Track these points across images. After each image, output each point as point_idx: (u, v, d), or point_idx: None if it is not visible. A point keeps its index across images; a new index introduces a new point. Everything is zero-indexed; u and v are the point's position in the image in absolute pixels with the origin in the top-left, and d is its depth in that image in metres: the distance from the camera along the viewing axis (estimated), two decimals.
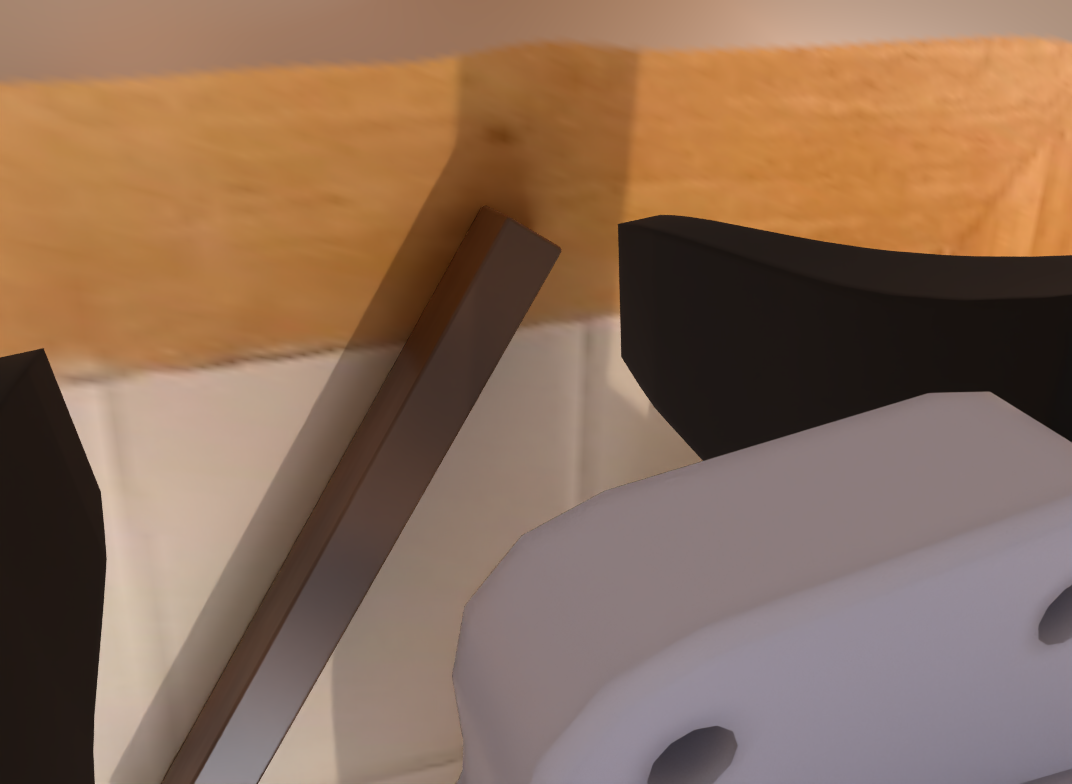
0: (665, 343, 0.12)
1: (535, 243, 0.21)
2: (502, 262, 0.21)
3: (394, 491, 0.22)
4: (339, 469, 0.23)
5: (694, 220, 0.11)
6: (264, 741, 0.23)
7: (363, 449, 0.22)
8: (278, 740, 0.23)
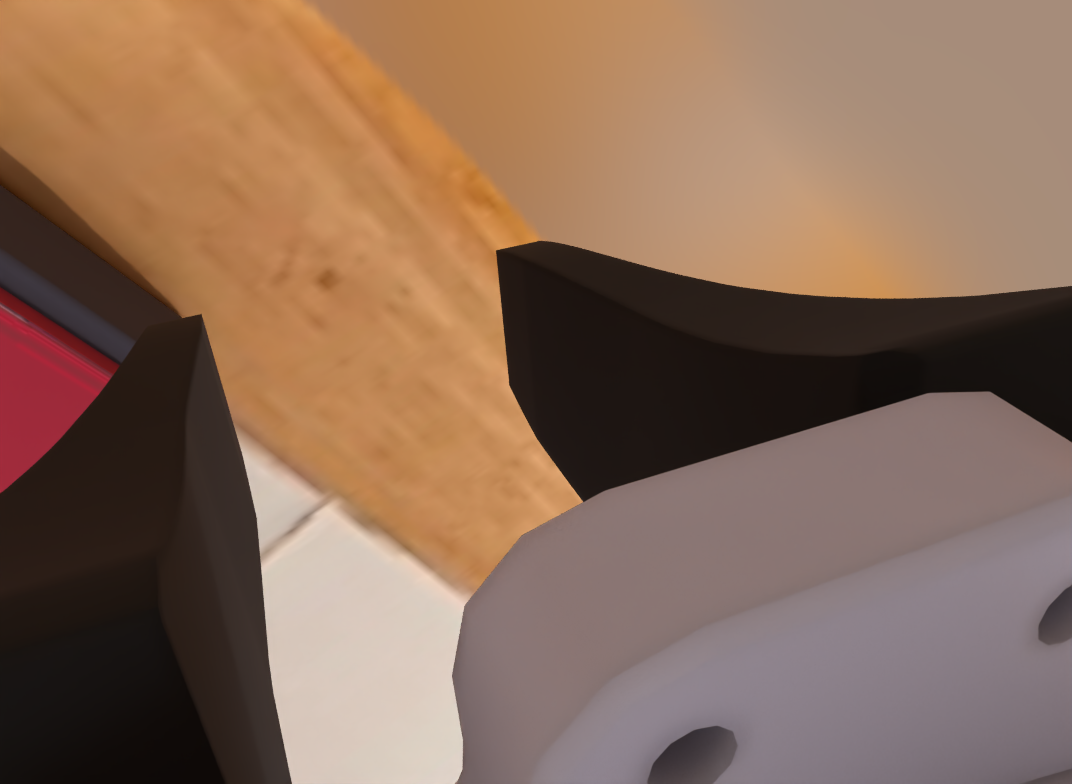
0: (541, 375, 0.11)
1: None
2: None
3: None
4: None
5: (567, 248, 0.11)
6: None
7: None
8: None
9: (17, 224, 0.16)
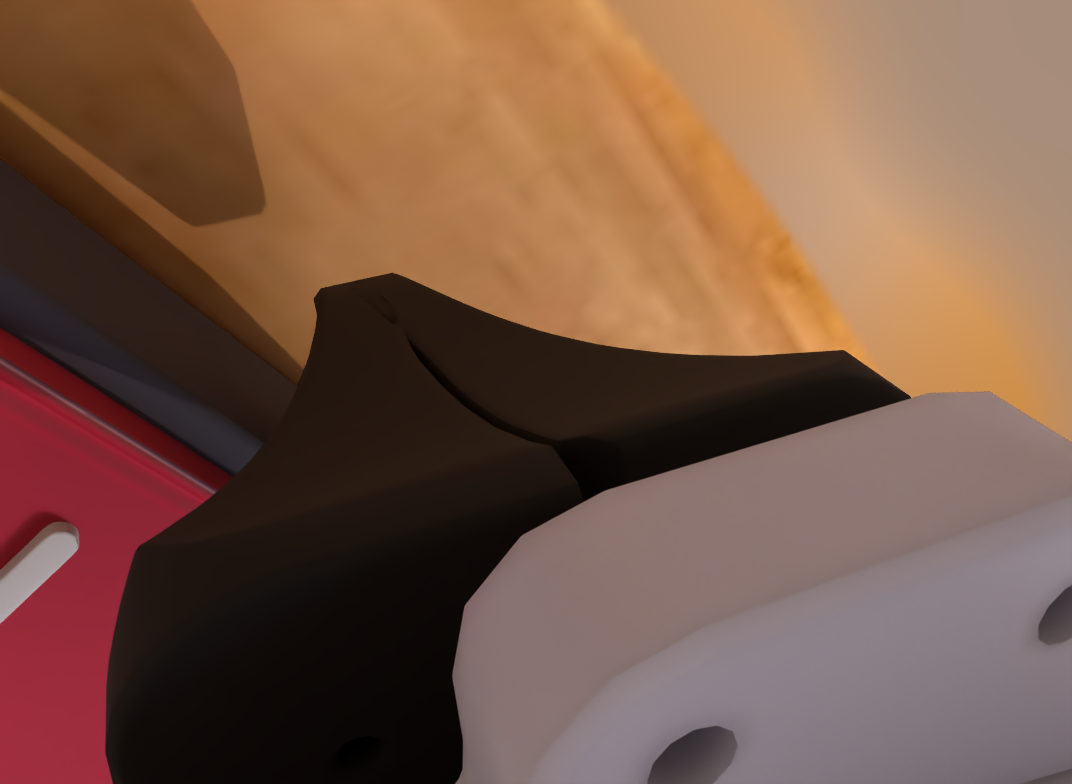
0: None
1: None
2: None
3: None
4: None
5: (407, 283, 0.10)
6: None
7: None
8: None
9: (207, 354, 0.11)
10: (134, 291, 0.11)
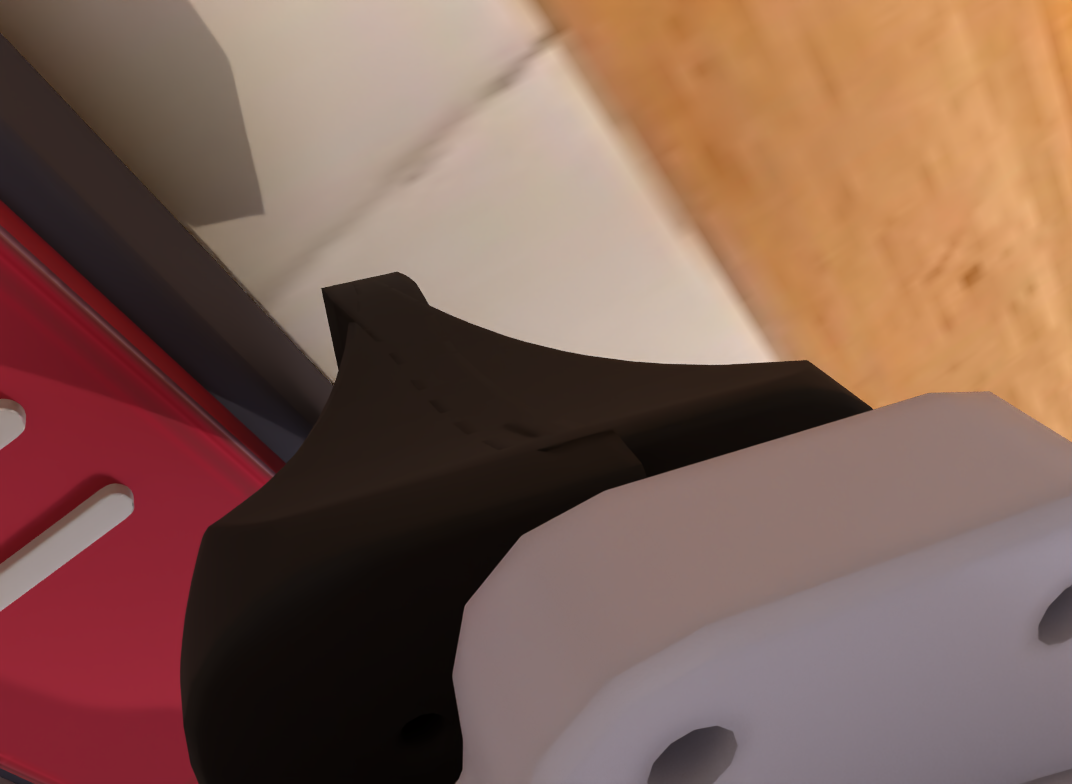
0: None
1: None
2: None
3: None
4: None
5: (384, 289, 0.10)
6: None
7: None
8: None
9: (262, 338, 0.11)
10: (201, 268, 0.11)
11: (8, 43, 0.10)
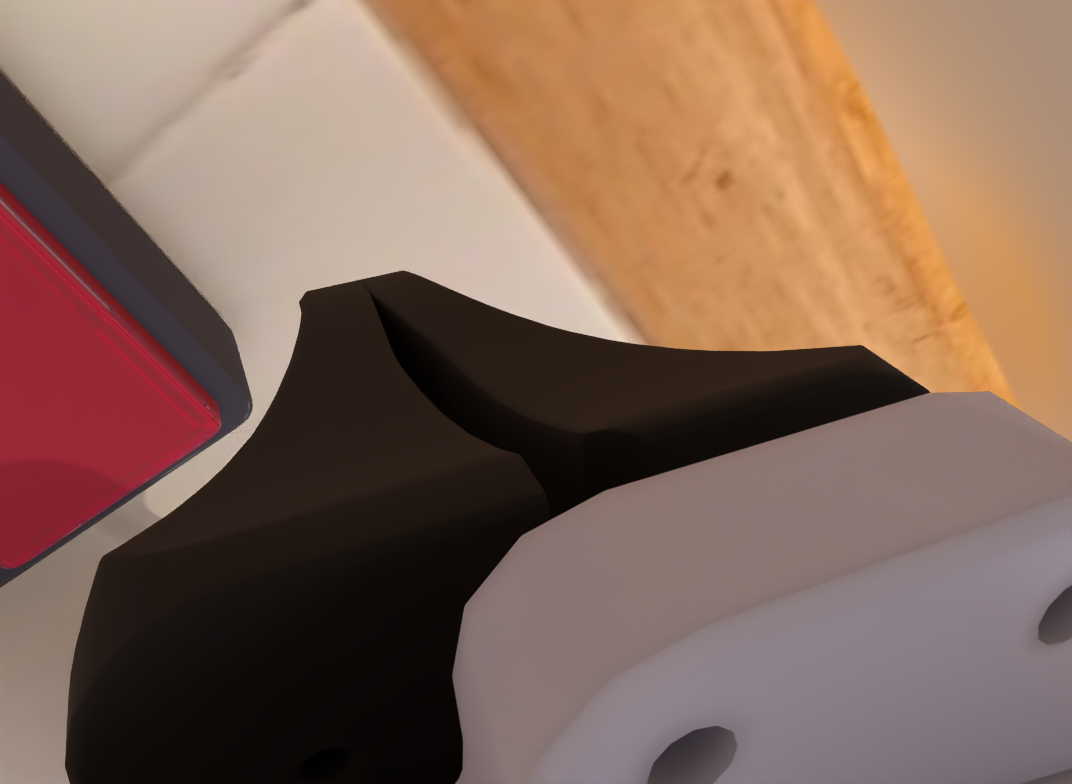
0: None
1: None
2: None
3: None
4: None
5: (419, 281, 0.10)
6: None
7: None
8: None
9: (105, 213, 0.16)
10: (60, 158, 0.16)
11: None
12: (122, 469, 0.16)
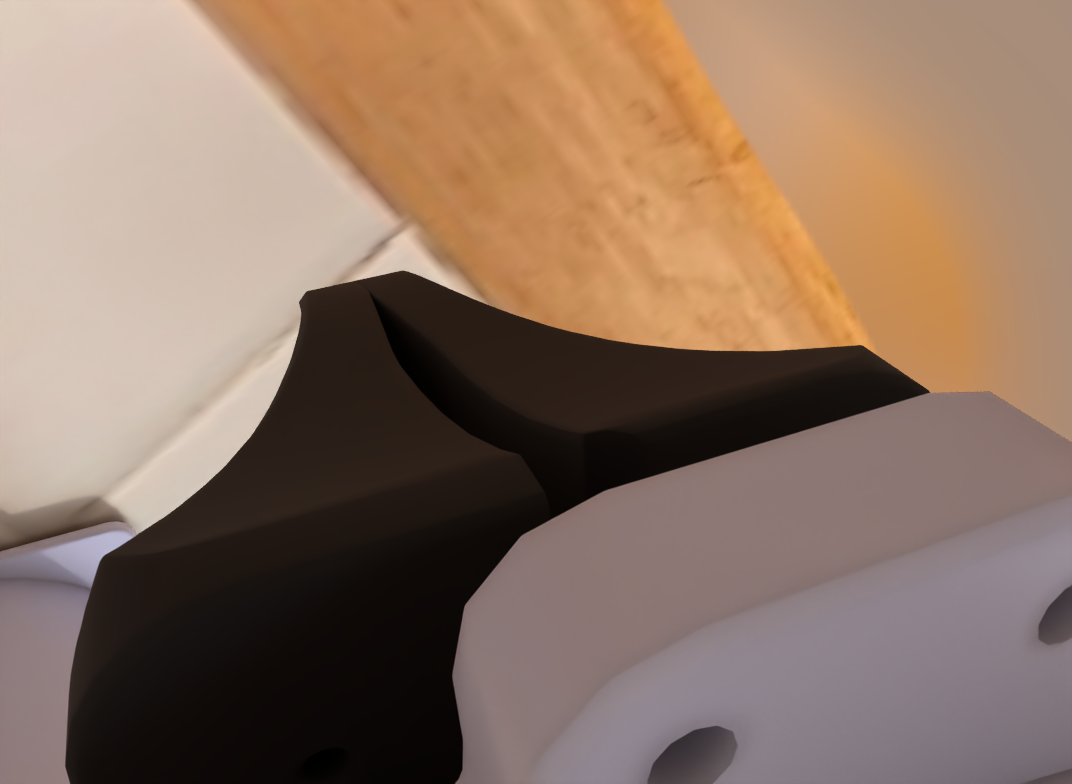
0: None
1: None
2: None
3: None
4: None
5: (419, 281, 0.10)
6: None
7: None
8: None
9: None
10: None
11: None
12: None
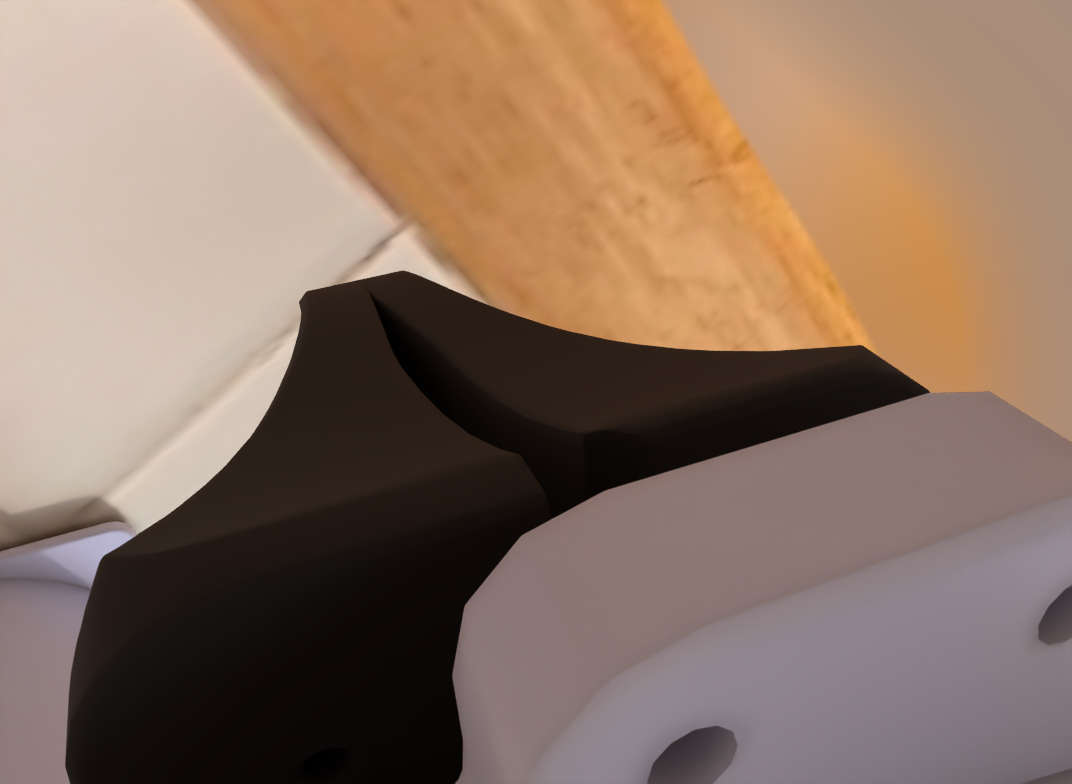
0: None
1: None
2: None
3: None
4: None
5: (419, 281, 0.10)
6: None
7: None
8: None
9: None
10: None
11: None
12: None
